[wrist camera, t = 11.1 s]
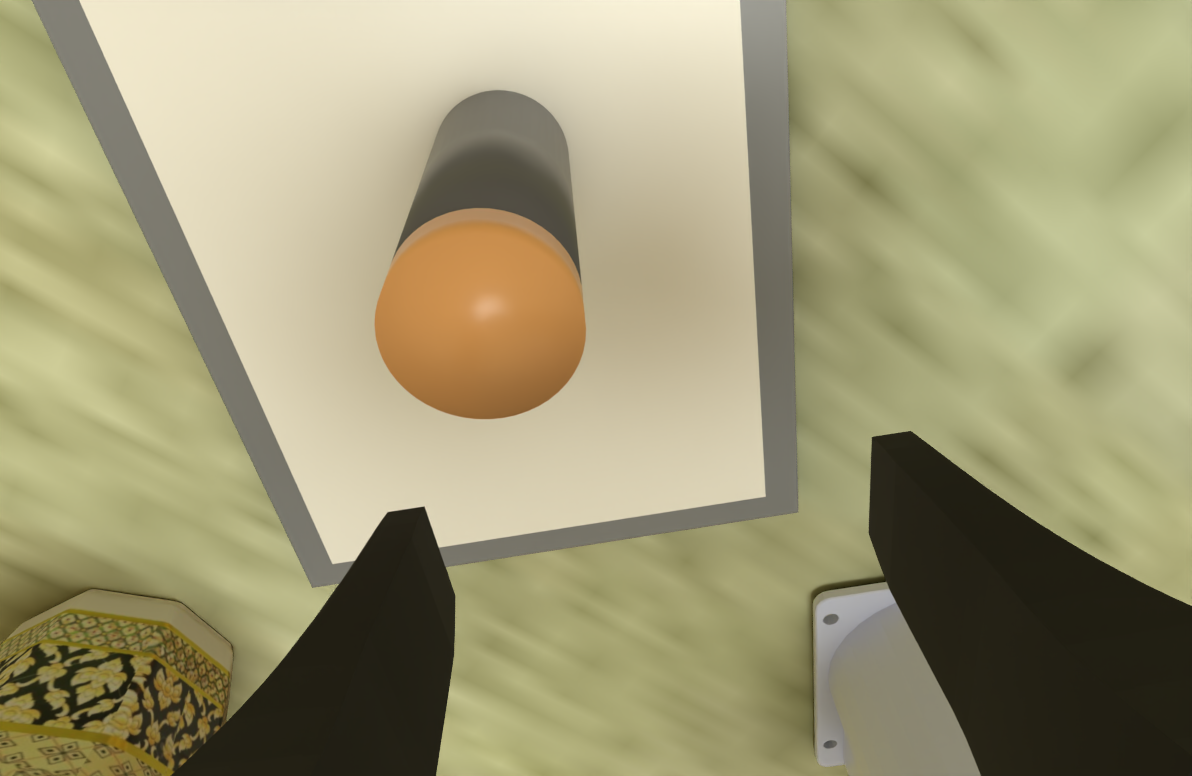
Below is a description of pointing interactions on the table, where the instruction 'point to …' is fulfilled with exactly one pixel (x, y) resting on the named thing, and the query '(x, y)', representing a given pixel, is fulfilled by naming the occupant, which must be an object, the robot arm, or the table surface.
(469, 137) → the marker
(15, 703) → the ceramic cup
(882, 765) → the robot arm
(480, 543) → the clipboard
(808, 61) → the table surface
